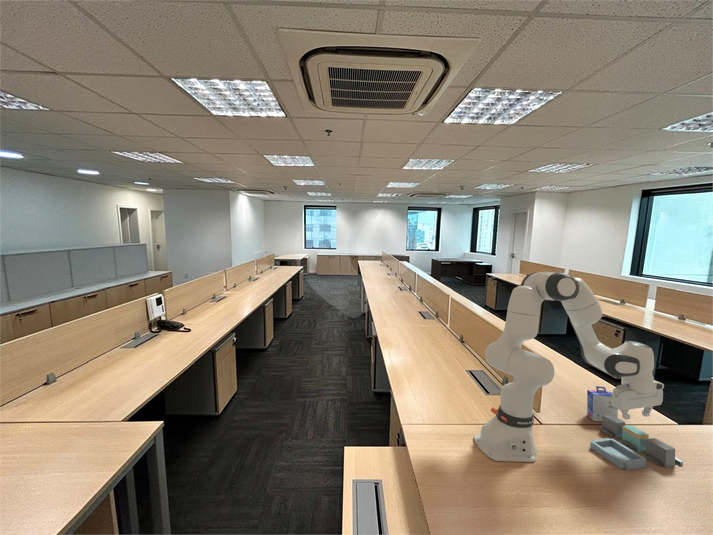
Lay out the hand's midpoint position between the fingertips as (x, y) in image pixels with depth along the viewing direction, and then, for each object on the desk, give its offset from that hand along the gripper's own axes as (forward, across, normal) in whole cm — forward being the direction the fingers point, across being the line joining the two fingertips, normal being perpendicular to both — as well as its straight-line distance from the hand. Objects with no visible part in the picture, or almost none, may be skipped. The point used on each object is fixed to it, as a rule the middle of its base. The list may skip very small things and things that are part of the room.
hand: (635, 417), depth 109 cm
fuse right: (+12, -1, -8) cm, 14 cm away
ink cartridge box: (+12, +5, +17) cm, 22 cm away
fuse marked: (+12, -1, 0) cm, 12 cm away
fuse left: (+12, -1, +8) cm, 14 cm away
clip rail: (+12, -1, 0) cm, 12 cm away
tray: (+11, -14, -4) cm, 18 cm away
